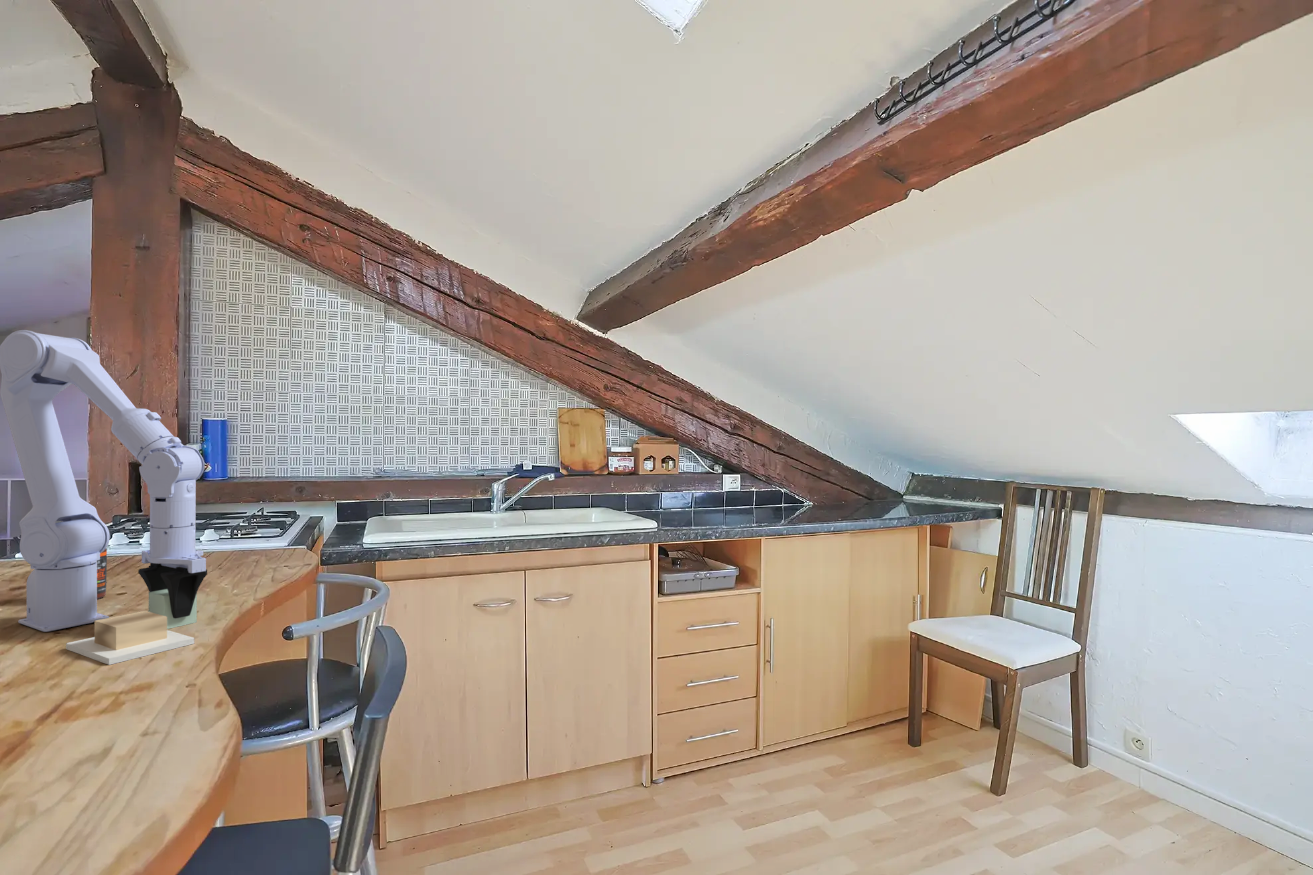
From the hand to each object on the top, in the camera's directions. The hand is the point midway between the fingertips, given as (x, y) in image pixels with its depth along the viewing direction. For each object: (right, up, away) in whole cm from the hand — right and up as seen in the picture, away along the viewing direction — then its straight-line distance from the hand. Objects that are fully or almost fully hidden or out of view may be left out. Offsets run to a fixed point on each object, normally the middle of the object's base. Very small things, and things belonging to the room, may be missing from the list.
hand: (172, 614), depth 104 cm
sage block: (0, -1, 0) cm, 1 cm away
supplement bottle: (-25, -1, +14) cm, 29 cm away
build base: (+2, -2, -11) cm, 11 cm away
